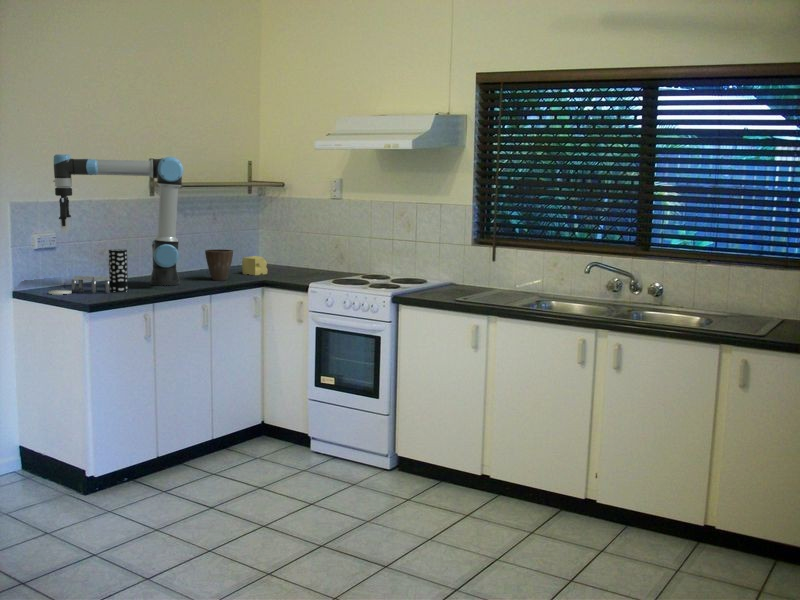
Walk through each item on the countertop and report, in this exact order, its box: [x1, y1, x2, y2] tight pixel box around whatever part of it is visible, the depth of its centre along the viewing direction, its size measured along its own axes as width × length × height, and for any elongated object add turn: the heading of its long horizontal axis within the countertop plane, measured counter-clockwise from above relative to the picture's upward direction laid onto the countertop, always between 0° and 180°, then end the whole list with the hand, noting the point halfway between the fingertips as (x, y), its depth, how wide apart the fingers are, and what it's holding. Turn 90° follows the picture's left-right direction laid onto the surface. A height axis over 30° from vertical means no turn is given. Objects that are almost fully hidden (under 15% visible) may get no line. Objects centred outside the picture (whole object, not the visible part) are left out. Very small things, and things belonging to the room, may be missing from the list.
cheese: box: [241, 255, 268, 276], centre depth 479 cm, size 10×11×10 cm
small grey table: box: [71, 275, 111, 294], centre depth 393 cm, size 17×6×8 cm, turn 107°
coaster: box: [48, 289, 72, 296], centre depth 390 cm, size 10×10×1 cm
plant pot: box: [204, 248, 234, 282], centre depth 450 cm, size 15×15×16 cm
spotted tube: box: [108, 248, 129, 293], centre depth 399 cm, size 8×8×20 cm
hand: (65, 232), depth 398 cm, fingers open, 13 cm apart
